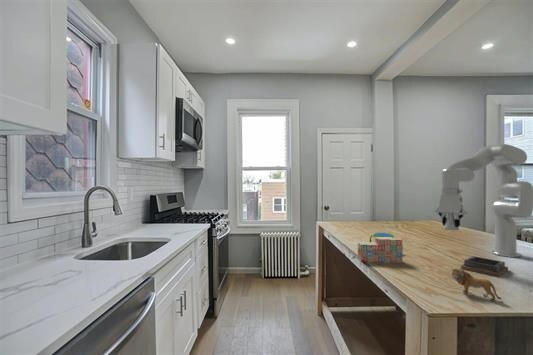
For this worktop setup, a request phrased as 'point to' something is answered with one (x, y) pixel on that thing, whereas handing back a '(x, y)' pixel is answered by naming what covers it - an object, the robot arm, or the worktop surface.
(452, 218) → the flask
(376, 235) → the snack cup
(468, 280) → the lion figurine
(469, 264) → the board
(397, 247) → the stack of blocks
